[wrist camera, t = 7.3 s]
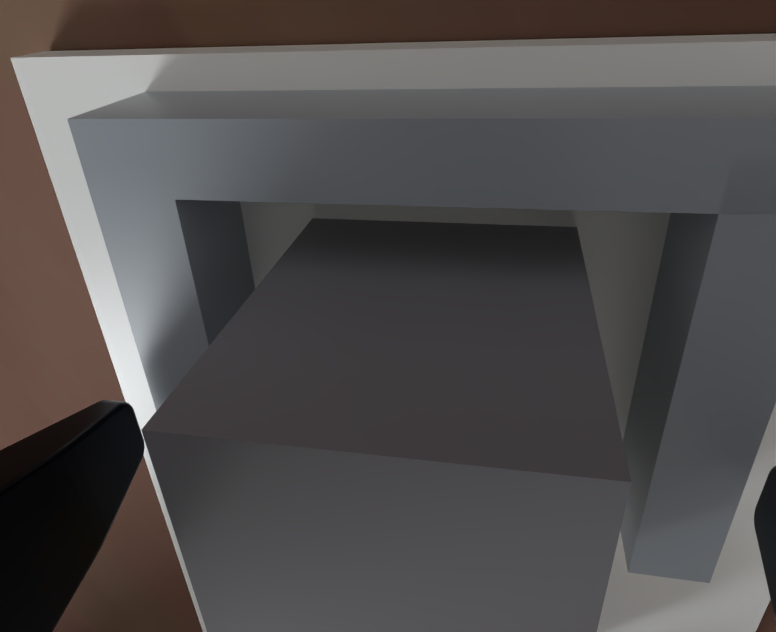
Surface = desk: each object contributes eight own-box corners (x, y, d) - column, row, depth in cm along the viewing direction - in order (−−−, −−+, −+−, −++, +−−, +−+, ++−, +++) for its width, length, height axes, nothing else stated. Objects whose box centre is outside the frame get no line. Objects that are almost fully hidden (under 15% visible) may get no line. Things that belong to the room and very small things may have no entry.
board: (685, 734, 16) (727, 930, 13) (230, 654, 18) (168, 802, 15) (981, 27, 7) (1347, 81, 4) (46, 51, 10) (-191, 96, 6)
